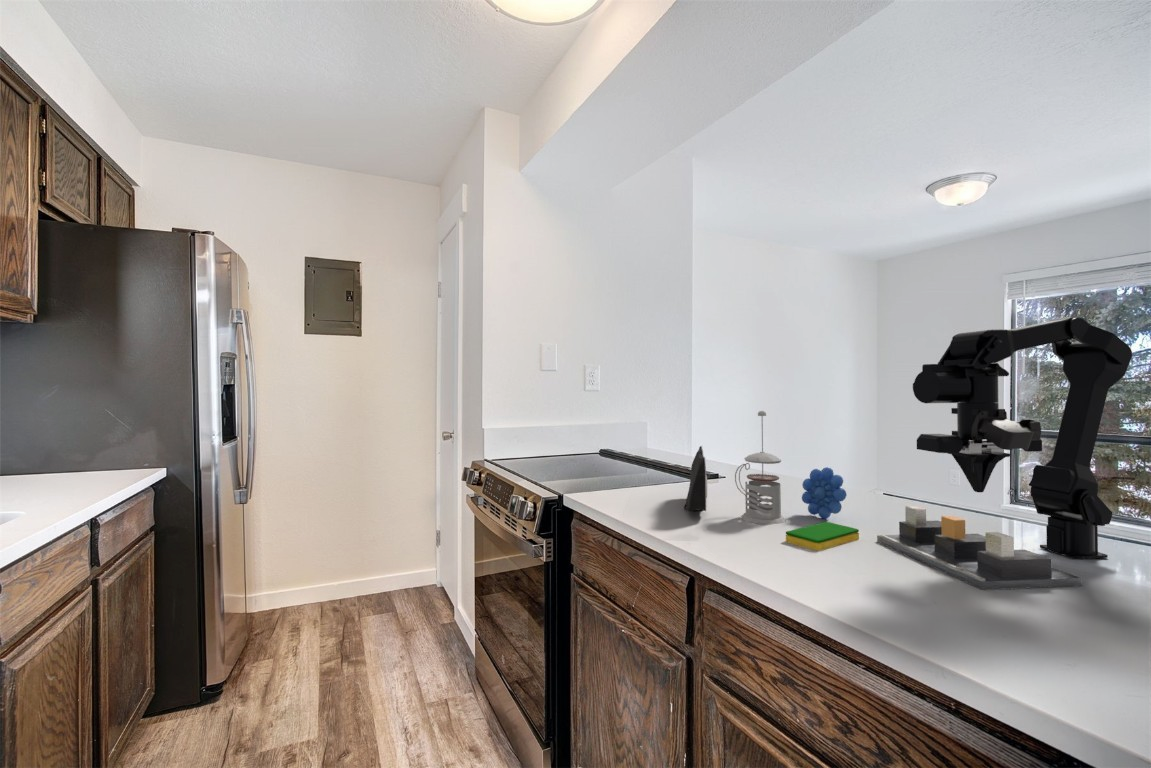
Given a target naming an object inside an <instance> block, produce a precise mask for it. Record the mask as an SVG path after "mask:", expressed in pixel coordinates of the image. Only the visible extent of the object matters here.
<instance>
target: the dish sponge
mask: <svg viewBox="0 0 1151 768" xmlns="http://www.w3.org/2000/svg"><path fill="white" fill-rule="evenodd" d="M859 532H860V529H858V528H856V527H851V526H846V525H843V524H838V523H833V522H830V521H823V522H820V523H817V524H812V525H808V526H804V527H799V528H794V529H791V530H787V531H785V542H786V543H789V544H792V545H796V546H799V547H802V548H806V549H809V550H813V551H816V552H818V551H820V552H821V551H823V550H826V549H830V548H833V547H837V546H840V545H843V544H847V543H848V544H849V543H851V542H854V541H858V540H859V539H860V533H859Z"/></svg>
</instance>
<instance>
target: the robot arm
mask: <svg viewBox="0 0 1151 768" xmlns="http://www.w3.org/2000/svg"><path fill="white" fill-rule="evenodd" d="M1070 340H1076V341H1074V342H1071V341H1070ZM1048 344H1051V347H1052V353H1053V354H1054V355H1055V356H1056V357H1057V358H1058V359H1060V360H1061V361H1063V362H1062V372H1063V374H1064V375H1065V377H1066V380H1067V381H1068V383H1069V387H1068V392H1067V396H1066V399H1065V400H1066V401H1065V404H1064V409H1063V412H1062V417H1061V421H1060V425H1059V429H1058V432H1057V437H1056V442H1055V445H1054V449H1053V453H1052V457H1051V459H1050V460H1049V461H1048V462H1047V463H1045V465H1043V464H1042V465H1040V464H1036V465H1034V467H1033V469H1032V477H1031V480H1030V482H1029V483H1028V486H1029V487H1030V493H1029V494H1030V496H1031V499H1032V502H1033V504H1034V507H1035V510H1036V513H1037V514H1038V515H1045V516H1047V525H1046V532H1045V533H1046V544H1039V548H1040V549H1043V550H1047V551H1049V552H1053V553H1055V554H1059V555H1062V556H1065V557H1068V558H1072V559H1075V560H1076V559H1077V560H1078V559H1101V558H1102V559H1105V558H1106V559H1107V558H1108V554H1107V553H1103V552H1099V542H1098V541H1099V539H1098V538H1099V536H1098V533H1099V531H1098V528H1099V527H1105V526H1106V525H1110V523H1111V521H1112V517H1113V511H1112V510H1111V509H1110V508H1109V507H1108V506H1107V505H1106V503H1105V502H1104V501H1102V499H1101V498H1100V497H1099V496H1098V491H1099V483H1098V481H1097V479H1096V477H1095V475H1094V473H1093V471H1092V469H1091V462H1092V459H1093V454H1094V449H1095V445H1096V442H1097V437H1098V433H1099V429H1100V425H1101V420H1102V416H1103V412H1104V409H1105V405H1106V400H1107V396H1108V392H1109V390H1110V389H1111V388H1112V387H1113V386H1114V385H1116V383H1118V382H1119V381H1120V380H1121V379H1122V378H1124V376H1125V375H1126V373H1127V369H1128V368H1129V366H1130V363H1131V360H1132V357H1133V351H1132V348H1131V346H1130V345H1129V344H1127V343H1126V342H1125V341H1124V340H1123V339H1122V338H1120V337H1119V336H1117V334H1115V333H1113V332H1111V331H1109V330H1105V329H1103V328H1101V327H1098V326H1094V325H1092V324H1090V323H1089V322H1088V321H1086V320H1085V319H1084V318H1083V317H1077V316H1068V317H1067V316H1066V317H1060V318H1053V319H1049V320H1047V321H1044V322H1039V323H1034V324H1030V325H1025V326H1020V327H1016V328H1011V329H985V330H977V331H970V332H969V331H967V332H960V333H957V334H955V335H953V336H952V337H951V341H950V344H949V346H948V347H947V349H946V351H944V354H942V356H941V358H940V360H939V361H938V362H937V363H929V364H928V363H927V364H926V363H925V364H922V367H921V369H922V371H920V372H919V373H918V374H917V375H916V377H915V379H914V381H913V383H912V392H913V394H914V397H915V398H916V399H917V400H918V401H919V402H920V403H923V404H956V407H951V414H952V415H953V414H954V415H956V418H957V419H956V421H957V422H956V423H957V425H956V427H957V430H951V434H945V433H920V434H919V436H918V437H917V438H916V450H919V451H920V450H921V451H926V452H931V453H938V454H948V455H951V456H952V457H953V459H954V460H955V462H956V464H957V465H958V466H959V467H960V469H961V470H962V473H963V474H964V476H965V478H966V479H967V482H968V483H969V485H970V487H971V488H972V490H973V492H975V493H984V492H985V489H986V486H987V485H988V482H989V480H990V478H991V475H992V473H993V471H994V469H995V467H996V466H997V464H998V463H999V462H1001V461H1002V460H1004V459H1005V458H1009V457H1011V456H1012V453H1009V452H1007V453H1006V452H1005V450H1006V451H1012V450H1018V449H1019V450H1023V451H1024V452H1028V453H1029V452H1043V440H1042V439H1041V434H1042V427H1041V422H1040V420H1036V419H1034V418H1022V419H1020V421H1018V420H1010V419H1008V415H1007V411H1006V409H1005V408H1000V406H999V403H1000V402H999V377H1009V376H1010V372H1009V371H1007V369H1004V367H1001V366H1000V364H999V362H1001V361H1004V360H1006V359H1008V358H1010V357H1011V356H1013V354H1015V352H1018V351H1021V350H1026V349H1030V348H1035V347H1038V346H1040V347H1041V346H1043V345H1048Z"/></svg>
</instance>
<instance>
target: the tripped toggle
mask: <svg viewBox="0 0 1151 768" xmlns="http://www.w3.org/2000/svg"><path fill="white" fill-rule="evenodd" d="M940 517H941V518H940V519H941V527H942V535H945V536H947V537H950V538H953V539H965V534H966V520H965V519H963V518H960V517H957V516H954V515H944V516H943V515H941V516H940Z"/></svg>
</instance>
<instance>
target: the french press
mask: <svg viewBox="0 0 1151 768" xmlns="http://www.w3.org/2000/svg"><path fill="white" fill-rule="evenodd" d="M757 416H758V417H761V451H760V452H755V453H752V454H749V455H747V456H745V457H744V459H743V460H744V461H745V462H746V463H742V464H741V465H739V466H738V467H737V468H736V470H735V473H734V482H735V485H736V488H737V490H738V491H739V492H740V493H741V494H743V496H744V497H745V499H744V500H745V513H743V514H742V515H741V517H740V518H741V519H742V520H744V521H746V522H749V523H753V524H754V523H755V524H761V525H778V524H783V523H785V522H786V518H785V517H784V516H783V515H782V505H781V504H782V503H781V502H782V501H781V499H782V498H781V497H782V496H781V495H782V493H781V492H782V491H781V490H782V489H781V483H780V482H777V481H778V480H779V479H780V477H779V476H777V475H775V474H768V473H767V474H766V473H764V464H765V465H766V464H767V465H768V464H769V465H771V464H772V465H773V464H774V465H775V464H780V463H781V462H782V459H780V458H779V456H777V455H774V454H772V453H768V452H765V451H764V438H763V437H764V434H763V433H764V430H763V429H764V427H763V426H764V425H763V421H764V419H763V417H766V416H767V413H766V412H765V411H764V410H759V411H758V412H757ZM750 463H753V464H761V467H762V469H761V473H754V474H753V473H750V474H747V475H746V478H747V479H748V481H745V486H744V487H745V489H744V487H743V485H742V483H741V480H740V479H741V472H742V469H743V468H745V470H746V471H748V470H749V469H750V468H751V464H750ZM747 465H748V468H747ZM738 471H739V472H738ZM737 473H738V481H739V485H740V488H741V489H742V490H743V491H742V490H741V489H740V488H739V486H738V483H737ZM744 492H745V493H744ZM763 497H766V498H763ZM767 497H770V498H767ZM763 502H764V503H763ZM769 503H771V504H769Z"/></svg>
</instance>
